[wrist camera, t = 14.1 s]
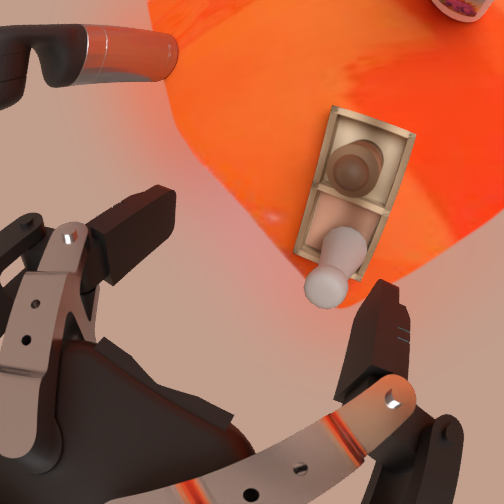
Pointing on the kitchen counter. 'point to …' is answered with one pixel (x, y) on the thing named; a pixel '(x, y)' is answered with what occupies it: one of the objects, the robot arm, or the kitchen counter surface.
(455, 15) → the milk bottle
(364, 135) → the spice rack
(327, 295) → the salt shaker
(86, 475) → the robot arm
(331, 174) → the pepper mill
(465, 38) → the kitchen counter surface
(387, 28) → the kitchen counter surface
